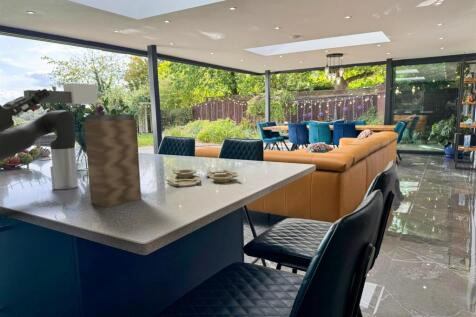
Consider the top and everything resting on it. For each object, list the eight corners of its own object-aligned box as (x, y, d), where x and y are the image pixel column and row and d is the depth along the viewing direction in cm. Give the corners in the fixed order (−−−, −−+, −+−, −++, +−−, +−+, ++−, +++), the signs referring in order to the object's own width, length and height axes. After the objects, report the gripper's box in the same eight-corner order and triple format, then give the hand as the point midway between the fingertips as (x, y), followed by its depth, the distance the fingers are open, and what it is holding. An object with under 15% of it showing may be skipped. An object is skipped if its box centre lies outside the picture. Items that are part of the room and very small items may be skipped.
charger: (31, 102, 94) (29, 80, 93) (23, 103, 98) (21, 82, 97) (98, 103, 110) (96, 84, 109) (88, 103, 113) (87, 85, 113)
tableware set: (166, 189, 140) (165, 179, 139) (164, 176, 168) (164, 168, 168) (246, 183, 148) (246, 174, 147) (232, 172, 176) (232, 164, 176)
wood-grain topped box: (106, 207, 112) (99, 114, 108) (90, 202, 119) (83, 114, 114) (141, 198, 123) (136, 113, 119) (125, 194, 129) (120, 114, 125)
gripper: (-14, 109, 83) (47, 78, 93) (-30, 110, 92) (27, 82, 102) (7, 135, 87) (62, 102, 97) (-11, 133, 95) (42, 103, 106)
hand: (44, 92), depth 99 cm, fingers closed on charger, 3 cm apart
